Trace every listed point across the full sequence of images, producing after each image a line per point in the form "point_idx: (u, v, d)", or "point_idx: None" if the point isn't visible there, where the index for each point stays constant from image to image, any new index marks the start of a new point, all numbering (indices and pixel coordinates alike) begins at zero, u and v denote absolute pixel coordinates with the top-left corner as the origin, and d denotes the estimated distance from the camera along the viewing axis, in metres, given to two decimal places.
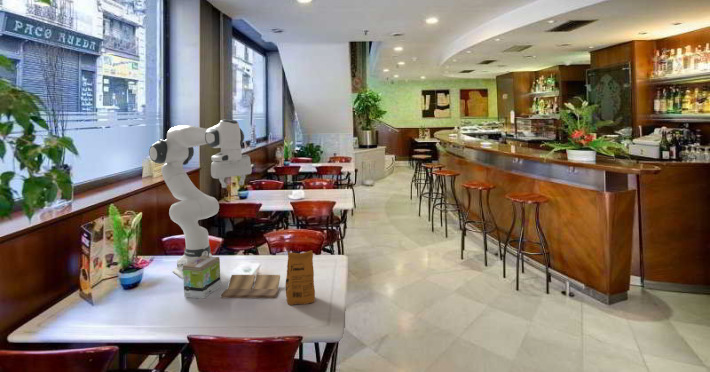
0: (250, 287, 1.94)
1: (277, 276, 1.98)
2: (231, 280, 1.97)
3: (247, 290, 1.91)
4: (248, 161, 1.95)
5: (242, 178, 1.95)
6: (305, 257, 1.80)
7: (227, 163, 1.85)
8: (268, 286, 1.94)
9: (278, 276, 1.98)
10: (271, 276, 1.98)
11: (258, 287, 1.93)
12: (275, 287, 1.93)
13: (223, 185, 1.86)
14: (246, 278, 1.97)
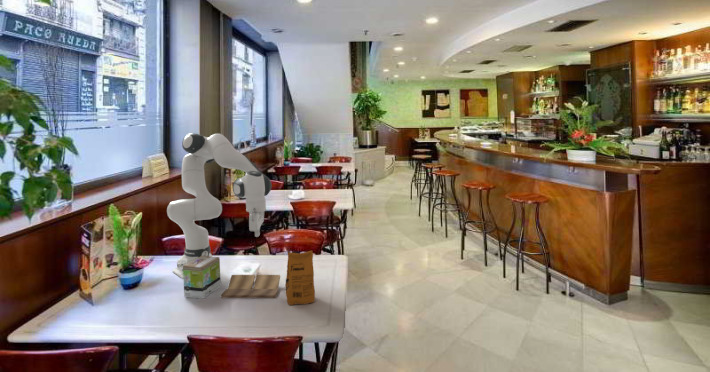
0: (250, 287, 1.94)
1: (277, 276, 1.98)
2: (231, 280, 1.97)
3: (247, 290, 1.91)
4: (249, 217, 1.86)
5: None
6: (305, 257, 1.80)
7: None
8: (268, 286, 1.94)
9: (278, 276, 1.98)
10: (271, 276, 1.98)
11: (258, 287, 1.93)
12: (275, 287, 1.93)
13: None
14: (246, 278, 1.97)
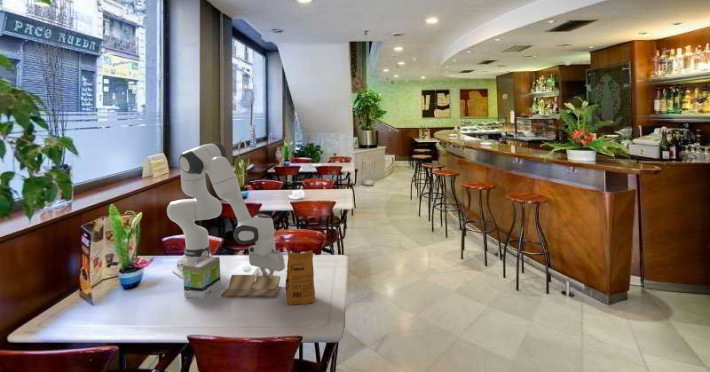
0: (250, 287, 1.94)
1: (277, 277, 1.98)
2: (231, 280, 1.97)
3: (247, 290, 1.91)
4: (276, 258, 1.90)
5: None
6: (305, 257, 1.80)
7: (256, 254, 1.97)
8: (268, 286, 1.94)
9: (278, 277, 1.98)
10: None
11: (258, 287, 1.94)
12: (275, 287, 1.93)
13: None
14: (246, 278, 1.97)
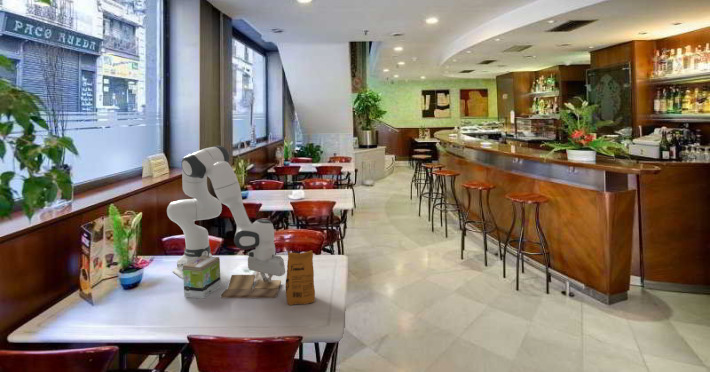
0: (250, 287, 1.94)
1: (278, 281, 2.00)
2: (231, 280, 1.97)
3: (247, 290, 1.91)
4: (276, 263, 1.92)
5: None
6: (305, 257, 1.80)
7: (255, 259, 1.97)
8: (268, 286, 1.95)
9: (279, 281, 2.00)
10: (272, 281, 2.00)
11: (258, 287, 1.94)
12: (275, 287, 1.94)
13: None
14: (246, 278, 1.97)
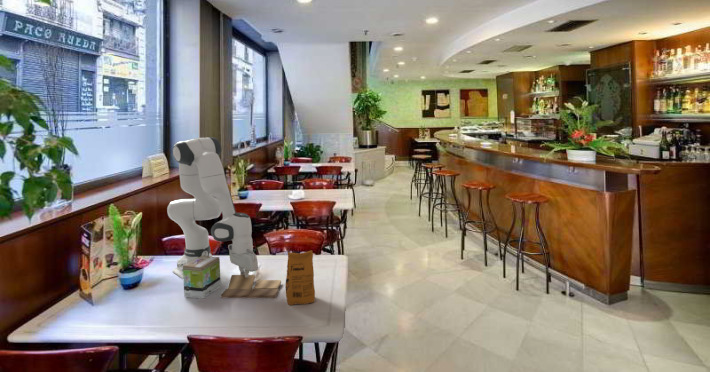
0: (250, 287, 1.94)
1: (278, 281, 2.00)
2: (231, 280, 1.97)
3: (247, 290, 1.91)
4: (248, 258, 1.89)
5: None
6: (305, 257, 1.80)
7: (234, 253, 1.97)
8: (268, 286, 1.95)
9: (279, 281, 2.00)
10: (272, 281, 2.00)
11: (258, 287, 1.94)
12: (275, 287, 1.94)
13: None
14: (246, 278, 1.97)
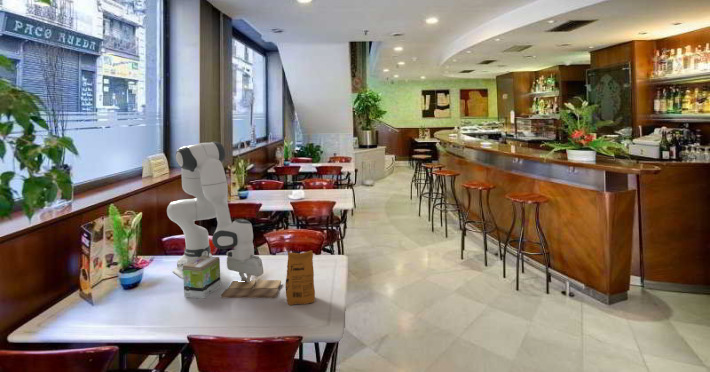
0: (250, 287, 1.94)
1: (278, 281, 2.00)
2: (232, 283, 1.98)
3: (247, 290, 1.91)
4: (254, 263, 1.92)
5: None
6: (305, 257, 1.80)
7: (234, 259, 1.98)
8: (268, 286, 1.95)
9: (279, 281, 2.00)
10: (272, 281, 2.00)
11: (258, 287, 1.94)
12: (275, 287, 1.94)
13: None
14: (247, 282, 1.99)
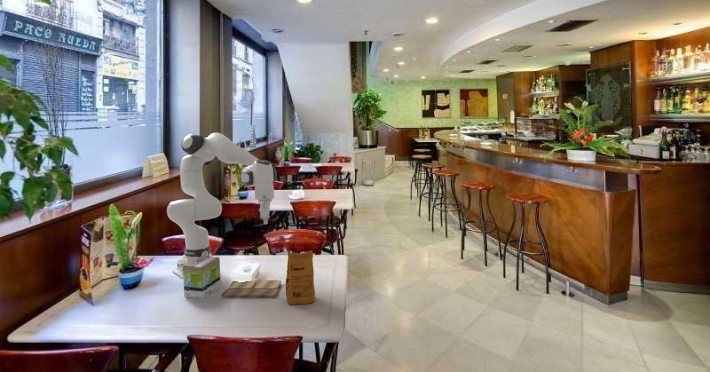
0: (250, 287, 1.94)
1: (278, 281, 2.00)
2: (232, 283, 1.98)
3: (247, 290, 1.91)
4: (260, 204, 1.90)
5: None
6: (305, 257, 1.80)
7: None
8: (268, 286, 1.95)
9: (279, 281, 2.00)
10: (272, 281, 2.00)
11: (258, 287, 1.94)
12: (275, 287, 1.94)
13: None
14: (247, 282, 1.99)
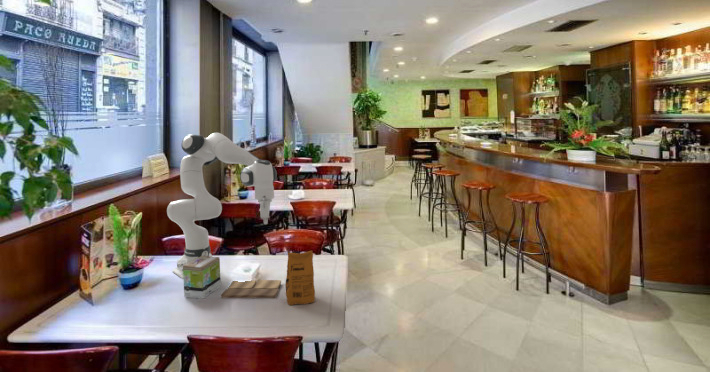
0: (250, 287, 1.94)
1: (278, 281, 2.00)
2: (232, 283, 1.98)
3: (247, 290, 1.91)
4: (260, 204, 1.90)
5: None
6: (305, 257, 1.80)
7: None
8: (268, 286, 1.95)
9: (279, 281, 2.00)
10: (272, 281, 2.00)
11: (258, 287, 1.94)
12: (275, 287, 1.94)
13: None
14: (247, 282, 1.99)
